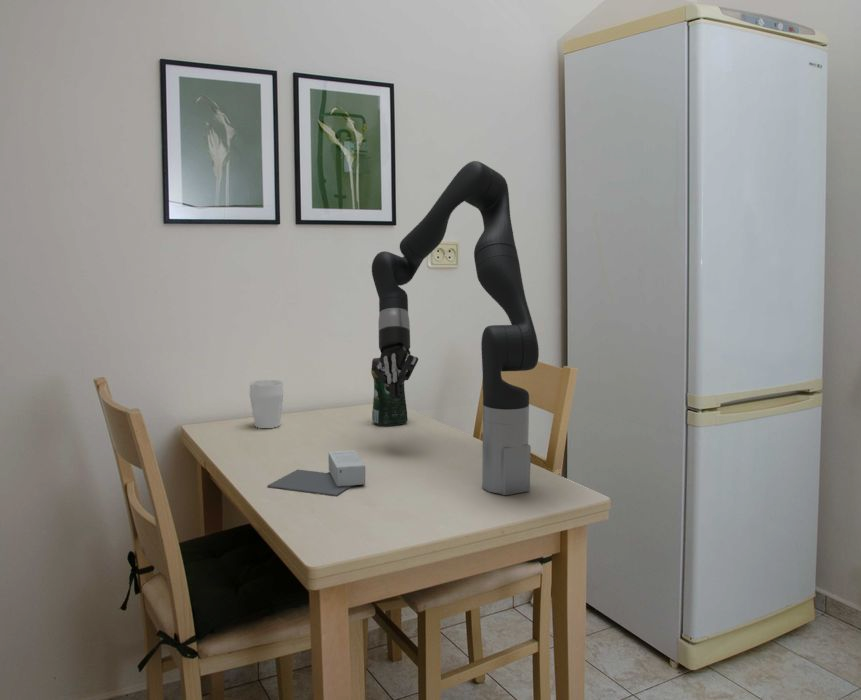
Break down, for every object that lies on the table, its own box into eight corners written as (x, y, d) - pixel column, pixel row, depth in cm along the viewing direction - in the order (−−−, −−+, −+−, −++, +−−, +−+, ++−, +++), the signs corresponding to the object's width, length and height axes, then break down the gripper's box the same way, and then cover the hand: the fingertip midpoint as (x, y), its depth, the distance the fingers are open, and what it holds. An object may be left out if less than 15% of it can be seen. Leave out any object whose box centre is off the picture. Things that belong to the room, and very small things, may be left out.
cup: (244, 428, 203) (242, 385, 201) (261, 421, 211) (259, 379, 209) (274, 431, 200) (273, 386, 198) (290, 423, 209) (289, 380, 207)
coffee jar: (401, 418, 214) (401, 354, 212) (410, 424, 207) (410, 358, 204) (368, 421, 211) (367, 355, 208) (376, 427, 204) (376, 359, 201)
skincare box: (328, 470, 164) (336, 487, 153) (328, 451, 164) (335, 466, 152) (355, 468, 166) (365, 484, 154) (355, 449, 165) (365, 464, 154)
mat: (297, 470, 165) (297, 469, 165) (363, 478, 159) (363, 477, 159) (267, 487, 154) (267, 485, 154) (336, 496, 148) (336, 494, 148)
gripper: (425, 327, 180) (428, 397, 174) (384, 341, 188) (385, 408, 182) (404, 319, 174) (407, 390, 169) (363, 333, 182) (364, 402, 176)
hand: (395, 399), depth 175 cm, fingers closed
